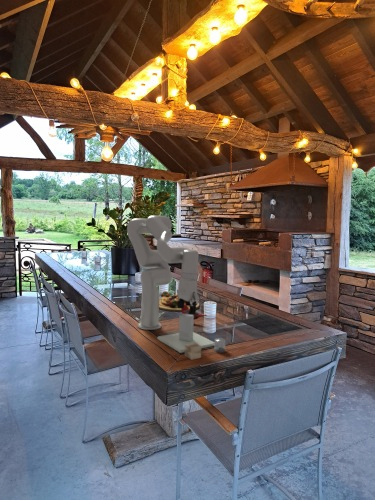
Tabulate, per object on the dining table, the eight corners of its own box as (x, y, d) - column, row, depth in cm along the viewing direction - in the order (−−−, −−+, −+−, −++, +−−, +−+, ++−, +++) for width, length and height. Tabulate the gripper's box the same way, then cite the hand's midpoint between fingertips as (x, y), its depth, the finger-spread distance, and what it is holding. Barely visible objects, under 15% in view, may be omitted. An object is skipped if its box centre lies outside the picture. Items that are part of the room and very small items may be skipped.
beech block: (184, 355, 155) (185, 344, 154) (194, 353, 158) (194, 342, 157) (191, 359, 151) (192, 348, 150) (200, 357, 154) (201, 346, 153)
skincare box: (193, 339, 173) (194, 314, 172) (189, 342, 169) (191, 316, 168) (181, 337, 175) (182, 312, 174) (178, 339, 171) (179, 315, 170)
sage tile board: (157, 339, 174) (157, 336, 174) (190, 333, 186) (191, 330, 185) (180, 352, 158) (180, 350, 158) (215, 345, 169) (215, 342, 169)
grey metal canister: (211, 349, 164) (212, 339, 163) (220, 347, 166) (220, 337, 166) (218, 353, 159) (219, 342, 159) (227, 351, 162) (227, 340, 162)
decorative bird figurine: (180, 319, 209) (181, 302, 208) (207, 325, 200) (208, 308, 199) (177, 320, 206) (178, 303, 206) (204, 326, 197) (205, 309, 197)
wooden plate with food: (146, 301, 250) (146, 290, 249) (187, 298, 263) (188, 287, 262) (161, 314, 221) (162, 301, 220) (207, 310, 234) (208, 298, 233)
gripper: (172, 272, 174) (170, 307, 176) (193, 280, 160) (190, 317, 162) (185, 272, 178) (182, 305, 180) (206, 279, 164) (203, 315, 166)
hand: (186, 311), depth 171 cm, fingers open, 9 cm apart
